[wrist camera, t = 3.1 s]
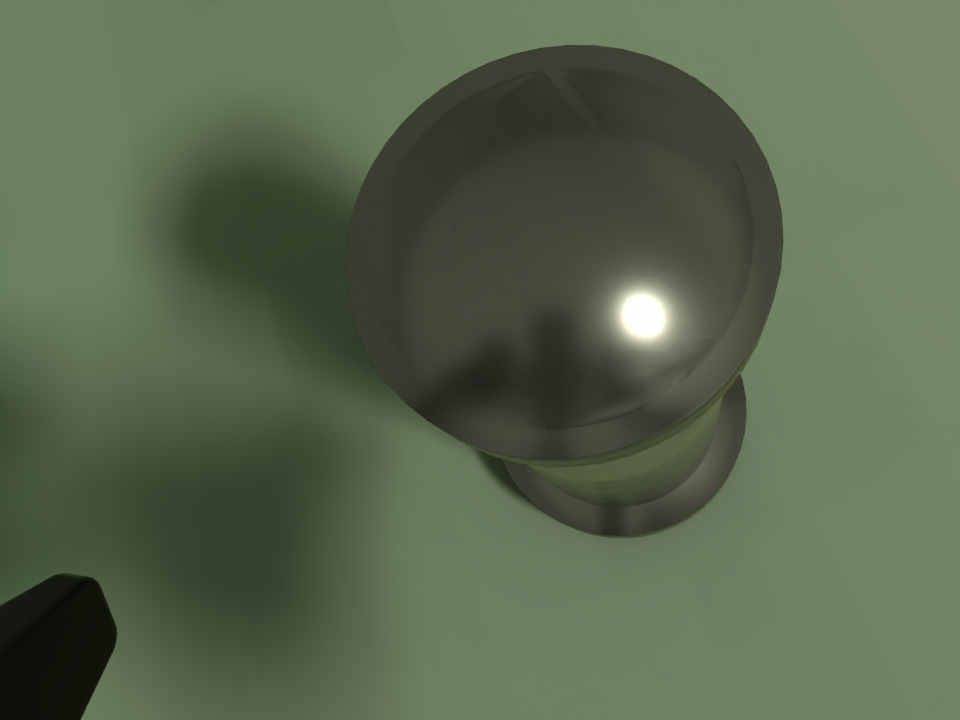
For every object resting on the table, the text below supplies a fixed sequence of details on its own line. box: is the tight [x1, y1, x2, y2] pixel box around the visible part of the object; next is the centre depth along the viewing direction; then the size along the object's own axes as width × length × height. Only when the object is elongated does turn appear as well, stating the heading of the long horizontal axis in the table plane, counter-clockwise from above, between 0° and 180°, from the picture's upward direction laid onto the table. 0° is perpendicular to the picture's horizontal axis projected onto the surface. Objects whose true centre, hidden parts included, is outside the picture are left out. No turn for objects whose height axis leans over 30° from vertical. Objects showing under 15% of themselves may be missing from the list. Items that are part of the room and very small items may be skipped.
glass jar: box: [346, 45, 783, 538], centre depth 15 cm, size 6×6×11 cm
